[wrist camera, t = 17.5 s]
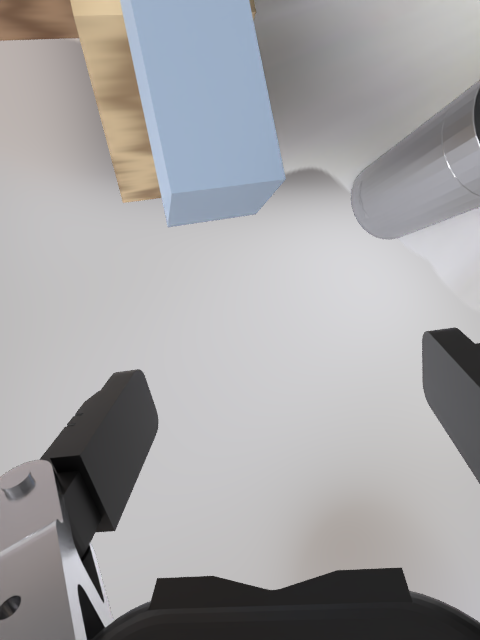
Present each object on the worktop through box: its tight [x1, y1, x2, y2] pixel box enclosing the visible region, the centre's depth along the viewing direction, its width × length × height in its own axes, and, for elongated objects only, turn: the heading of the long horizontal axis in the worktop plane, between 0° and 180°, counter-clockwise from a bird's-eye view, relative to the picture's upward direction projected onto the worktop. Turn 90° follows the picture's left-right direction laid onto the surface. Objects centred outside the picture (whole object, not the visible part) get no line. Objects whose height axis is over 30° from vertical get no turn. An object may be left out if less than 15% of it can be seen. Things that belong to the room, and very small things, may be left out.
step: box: [70, 0, 256, 203], centre depth 27 cm, size 8×14×23 cm, turn 12°
